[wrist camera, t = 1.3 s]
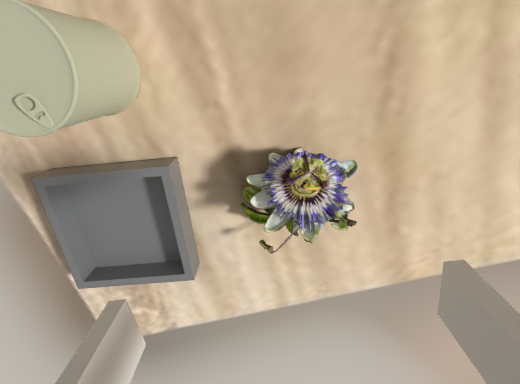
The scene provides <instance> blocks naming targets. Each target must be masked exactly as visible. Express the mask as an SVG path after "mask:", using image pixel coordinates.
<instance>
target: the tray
mask: <svg viewBox="0 0 520 384" xmlns="http://www.w3.org/2000/svg"><path fill="white" fill-rule="evenodd" d="M32 182H33V184H34V186H35V189H36V191H37V193H38V196H39V198H40V200H41V203H42V205H43V207H44V210H45V212H46V214H47V217H48V219H49V222H50V224H51V226H52V229H53V231H54V233H55V236H56V238H57V240H58V243H59V245H60V247H61V250H62V252H63V254H64V257H65V259H66V261H67V264H68V266H69V269H70V271H71V273H72V276H73V278H74V280H75V283H76V285H77V287H78V289H83V288H96V287H109V286H122V285H135V284H148V283H162V282H175V281H188V280H194V279H195V276H196V273H197V270H198V267H199V263H200V262H199V257H198V253H197V248H196V243H195V239H194V234H193V229H192V225H191V220H190V215H189V210H188V206H187V201H186V196H185V192H184V187H183V182H182V177H181V173H180V168H179V163H178V159H177V157H172V158H161V159H150V160H140V161H129V162H118V163H107V164H97V165H86V166H75V167H64V168H54V169H51V170H49V171H47V172H45V173H42V174H40V175H38V176H36V177H34V178H32Z"/></svg>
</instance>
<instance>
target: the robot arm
mask: <svg viewBox="0 0 520 384" xmlns="http://www.w3.org/2000/svg"><path fill="white" fill-rule="evenodd" d="M438 315H439V316H440V318H441V319H442V320H443V322H444V323H445V325H446V326H447V328H448V329H449V331H450V332H451V333H452V335H453V336H454V338H455V339H456V341H457V342H458V343H459V345H460V346H461V347H462V349H463V350H464V352H465V353H466V355H467V356H468V358H469V359H470V360H471V362H472V363H473V364H474V366H475V367H476V369H477V370H478V372H479V373H480V375H481V376H482V377H483V379H484V380H485V382H486V383H487V384H520V314H519V313H518V312H517V311H516V310H515V309H514V308H513V307H512V306H511V305H510V304H509V303H508V302H507V301H506V300H505V299H504V298H503V297H502V296H501V295H500V294H499V293H498V292H497V291H496V290H494V288H492V287H491V286H490V285H489V284H488V283H487V282H486V281H485V280H484V279H483V278H482V277H481V276H480V275H479V274H478V273H477V272H476V271H475V270H474V269H473V268H472V267H471V266H470V265H469V264H468V263H467V262H466V261H465V260H457V261H448V262H444V263H443V272H442V281H441V290H440V299H439V307H438ZM145 346H146V344H145V341H144V339H143V337H142V334H141V332H140V330H139V328H138V325H137V323H136V321H135V318H134V316H133V314H132V311H131V309H130V307H129V305H128V302H127V300H126V299H123V300H115V301H109V302H108V303H107V305H106V307H105V308H104V310H103V311H102V313H101V314H100V316H99V317H98V319H97V320H96V322H95V323H94V325H93V327H92V328H91V330H90V331H89V333H88V334H87V336H86V337H85V339H84V340H83V342H82V343H81V345H80V347H79V348H78V350H77V351H76V353H75V354H74V356H73V357H72V359H71V360H70V362H69V363H68V365H67V366H66V368H65V370H64V371H63V373H62V374H61V376H60V378H59V379H58V380H57V382H56V383H55V384H130V381H131V379H132V377H133V374H134V372H135V370H136V367H137V365H138V362H139V360H140V358H141V355H142V352H143V350H144V348H145Z"/></svg>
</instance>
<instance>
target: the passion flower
mask: <svg viewBox="0 0 520 384" xmlns="http://www.w3.org/2000/svg"><path fill="white" fill-rule="evenodd" d="M268 165H269V168H268V169H267V171H266V172H265V173H263V174H253V175H249V176H248V177H247V178H246V180H247V182H248V183H249V184H248V187H245V188H244V189H243V194H244V198H245V199H246V200H247V202H248V203H249V204H251V205H253V206H254V207H256V208H258V209H263V210H265V211H266V212H267V213H268V214H266V213H261V212H258V211H256V210H253V209H252V208H249V207H247V206H245V204H244V203H241V206H242V208H243V209H244V211H245V212H246V213H247V215H248V216H249V217H250V219H251V220H253V221H255V222H257V223H263V224H265V225H264V231H265V232H267V233H270V232H275V231H277V230H280V229H281V228H282V227H283V226H285V225H287V226H286V227H287V229H288V230H289V232H290V233H291V235H290V236H289V237H288V238H287V239H286V240H285V242H284V243H283V244H282V245H281V246H280V247H279V248H278V249H277V250H275V251H273V246H269V245H267V244H266V243H265V241H264V240H261V241H259V243H260V245H261V246H263V247H264V248H265V249H267V250H268V251H269V252H270V253H271V254H272V253H274V252H277V251H278V250H279V249H280V248H281V247H282V246H283V245H284V244H285V243H286V242H287V241H288V239H290V237H291V236H292V235H295V236H299V234H298V232H297V231H298V229H299V230H300V232H301V234H302V236H303V238H304V240H305V241H307V242H310V243H313V241H314V240H315V239H316V237H317V235H318V233H319V230H320V228H321V226H322V225H325V224H326V223H327V222H328V221H329V222H335V224H331V225H332V226H333V227H334V228H336V229H338V230H346V229H348V226H351V227H352V225H353V226H354V225H356V223H357V222H356V221H353V220H350V219H348V218H347V216H348V213H349V212H350V211H352V210H354V203H353V202H352V201H351V200H350V199H349V198H346V197H347V196H348V194H345V193H344V189H346V188H347V187H342V185H343V182H344V179H345V178H346V177H347V178H348V177H350V176H351V175H353V174H354V173H355V172H356V169H357V164H356V162H355V161H353V160H350V161H345V162H340V163H339V161H337V160H335V159H334V160H333V159H331V158H327V157H326V156H325V155H324V154H317V155H316V154H312V153H308V152H307V151H306V150H305V151H304V150H303V149H302V148H298V149H296V150H295V151H294V153H292V155H291V154H290V153H288V154H287V155H284V156H281V155H280V154H276V153H270V154H269V158H268ZM337 218H338V219H339V220H334V219H337ZM336 223H338V224H336ZM297 224H298V225H297Z"/></svg>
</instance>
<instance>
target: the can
mask: <svg viewBox="0 0 520 384" xmlns="http://www.w3.org/2000/svg"><path fill="white" fill-rule="evenodd" d="M139 87H140V68H139V64H138V60H137V58H136V55H135V53H134V51H133V49H132V48H131V46H130V45H129V43H128V42H127V41H126V40H125V38H124V37H123V36H122V35H121V34H120V33H118V32H117V31H116V30H115V29H113V28H112V27H110V26H108V25H106V24H104V23H102V22H99V21H96V20H91V19H82V18H78V17H74V16H70V15H67V14H63V13H60V12H56V11H53V10H50V9H46V8H43V7H39V6H36V5H32V4H29V3H26V2H23V1H20V0H0V131H3V132H5V133H8V134H12V135H16V136H23V137H37V136H43V135H47V134H50V133H52V132H54V131H56V130H59V129H62V128H65V127H68V126H71V125H74V124H77V123H81V122H84V121H88V120H91V119H94V118H98V117H101V116H109V115H114V114H117V113H120V112H122V111H124V110H125V109H126V108H128V107H129V106H130V105H131V104H132V102H133V101H134V100H135V98H136V96H137V94H138V91H139Z"/></svg>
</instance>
